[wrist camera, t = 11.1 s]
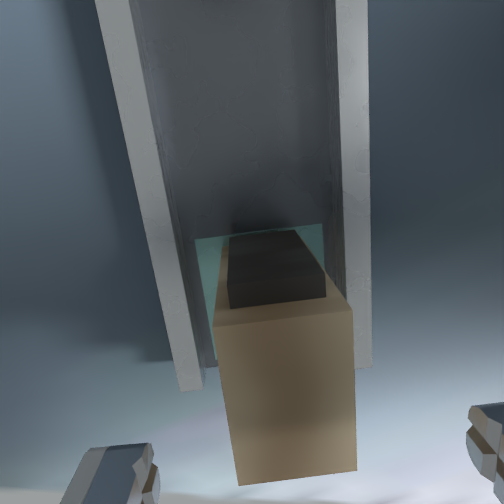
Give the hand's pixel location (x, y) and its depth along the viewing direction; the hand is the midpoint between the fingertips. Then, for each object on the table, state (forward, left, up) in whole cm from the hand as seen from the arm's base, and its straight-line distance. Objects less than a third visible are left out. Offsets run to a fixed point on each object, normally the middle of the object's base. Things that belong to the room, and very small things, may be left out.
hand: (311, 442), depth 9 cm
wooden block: (0, 0, -10) cm, 10 cm away
